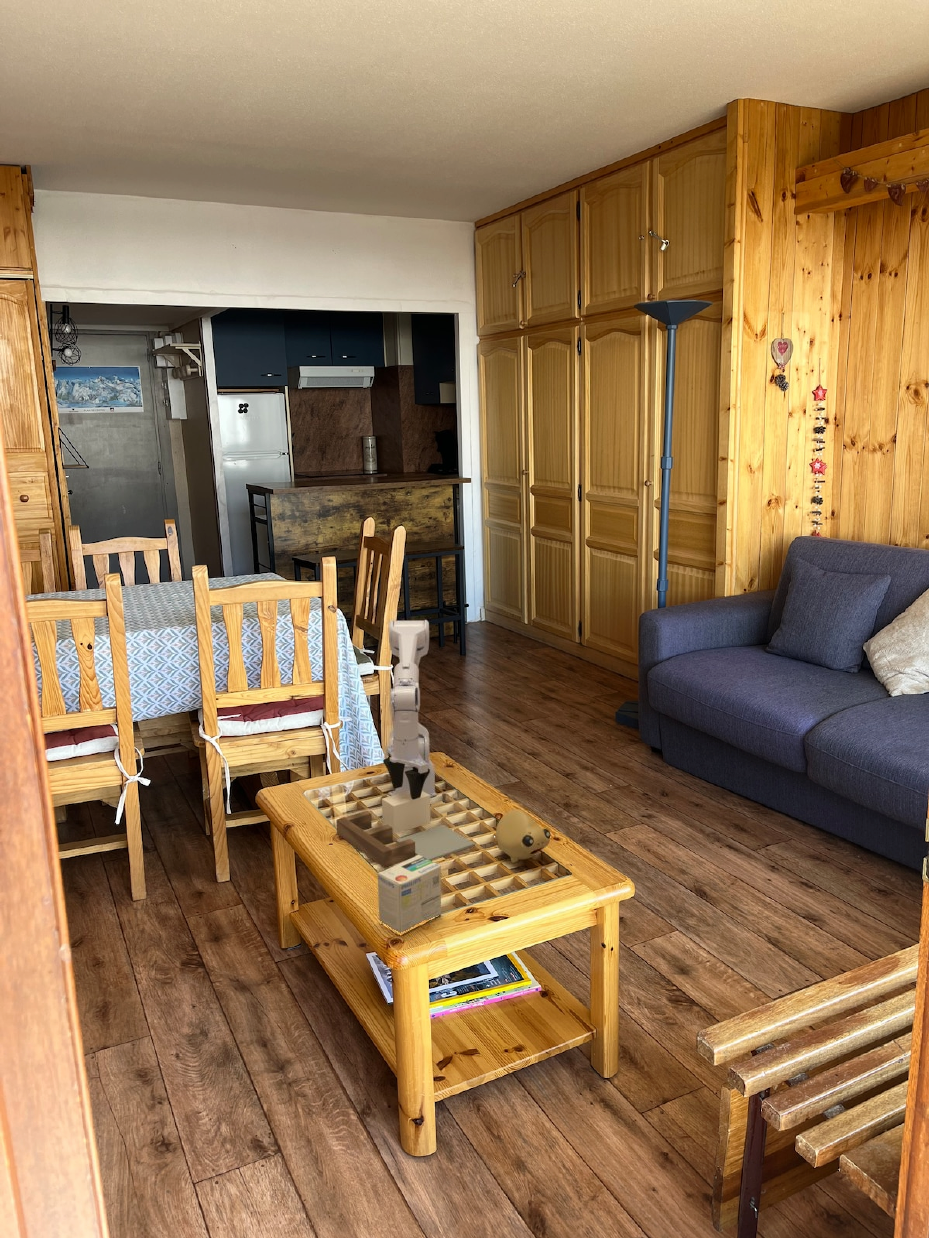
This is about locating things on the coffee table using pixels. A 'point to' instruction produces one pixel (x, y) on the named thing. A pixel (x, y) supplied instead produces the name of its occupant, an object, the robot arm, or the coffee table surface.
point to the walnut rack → (374, 839)
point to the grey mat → (438, 842)
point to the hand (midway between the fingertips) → (406, 792)
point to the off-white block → (405, 811)
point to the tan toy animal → (520, 835)
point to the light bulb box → (409, 893)
